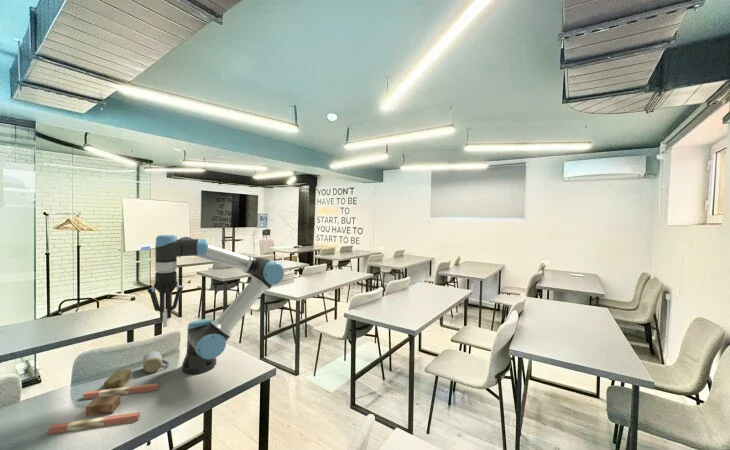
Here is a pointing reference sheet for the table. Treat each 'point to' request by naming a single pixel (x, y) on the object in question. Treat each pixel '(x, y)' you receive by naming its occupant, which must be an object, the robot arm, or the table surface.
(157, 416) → the table surface
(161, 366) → the ceramic mug
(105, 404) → the walnut block
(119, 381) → the stone block
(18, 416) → the table surface
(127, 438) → the table surface
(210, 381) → the table surface
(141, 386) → the rails
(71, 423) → the rails
